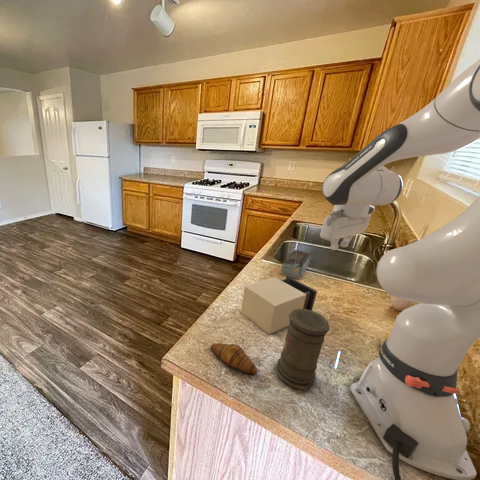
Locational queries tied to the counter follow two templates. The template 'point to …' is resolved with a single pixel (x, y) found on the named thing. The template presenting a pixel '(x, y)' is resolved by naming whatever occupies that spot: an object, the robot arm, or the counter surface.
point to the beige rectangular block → (271, 303)
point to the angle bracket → (305, 289)
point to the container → (302, 348)
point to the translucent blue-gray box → (296, 264)
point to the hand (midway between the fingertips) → (338, 248)
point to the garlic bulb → (401, 303)
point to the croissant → (234, 357)
